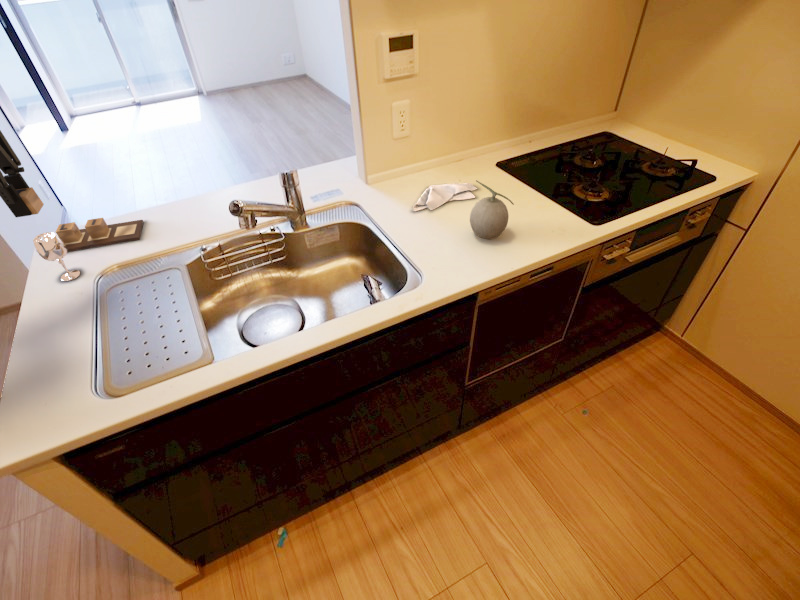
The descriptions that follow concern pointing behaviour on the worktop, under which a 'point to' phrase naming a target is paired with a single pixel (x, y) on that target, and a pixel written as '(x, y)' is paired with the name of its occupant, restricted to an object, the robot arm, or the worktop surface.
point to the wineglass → (54, 252)
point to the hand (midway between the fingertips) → (27, 209)
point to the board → (109, 236)
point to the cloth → (443, 195)
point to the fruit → (489, 216)
